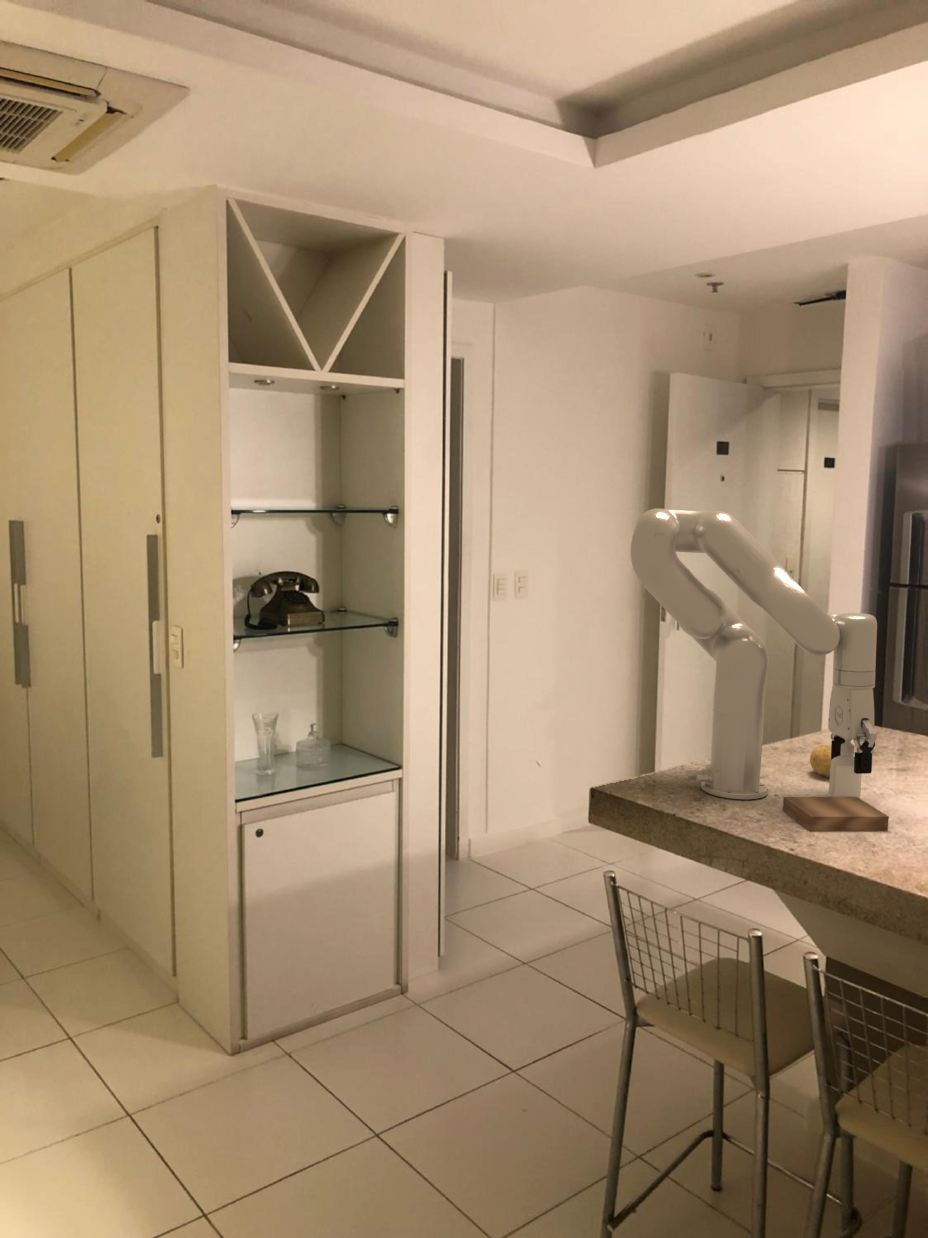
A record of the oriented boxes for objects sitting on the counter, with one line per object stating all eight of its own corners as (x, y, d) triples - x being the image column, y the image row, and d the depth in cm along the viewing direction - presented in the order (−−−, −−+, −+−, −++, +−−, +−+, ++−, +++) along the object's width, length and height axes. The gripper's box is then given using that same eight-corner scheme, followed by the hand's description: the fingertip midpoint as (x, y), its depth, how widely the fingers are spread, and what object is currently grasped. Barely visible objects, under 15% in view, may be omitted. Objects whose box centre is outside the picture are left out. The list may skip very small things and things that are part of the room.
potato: (806, 779, 210) (808, 749, 210) (811, 767, 220) (813, 738, 220) (841, 783, 208) (843, 753, 207) (844, 771, 218) (846, 742, 217)
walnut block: (810, 833, 177) (811, 816, 176) (782, 812, 189) (783, 796, 188) (887, 833, 178) (888, 816, 178) (855, 812, 190) (856, 796, 190)
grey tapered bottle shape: (858, 803, 194) (863, 741, 192) (827, 799, 196) (831, 738, 195) (860, 798, 198) (864, 737, 196) (829, 793, 200) (833, 733, 199)
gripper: (815, 671, 202) (812, 756, 204) (855, 687, 185) (852, 779, 187) (852, 670, 203) (849, 755, 205) (895, 686, 186) (892, 778, 188)
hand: (850, 766), depth 196 cm, fingers open, 9 cm apart
